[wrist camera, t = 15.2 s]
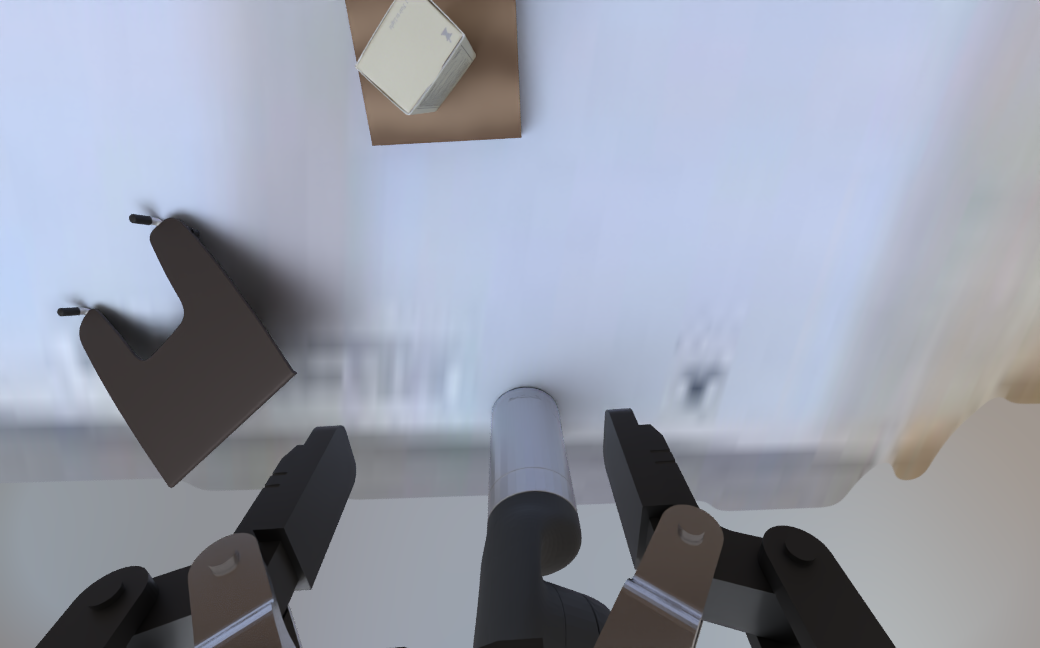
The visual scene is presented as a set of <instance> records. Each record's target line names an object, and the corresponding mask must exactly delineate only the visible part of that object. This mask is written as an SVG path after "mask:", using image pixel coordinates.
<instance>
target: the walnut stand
mask: <svg viewBox="0 0 1040 648" xmlns="http://www.w3.org/2000/svg"><path fill="white" fill-rule="evenodd" d="M393 1H394V0H345V3H346V8H347V13H348V18H349V24H350V29H351V34H352V40H353V45H354V50H355V55H356V61H358V59H359V58H360V56H361V54H362V53H363V51H364V49H365V47H366V46H367V44H368V42H369V40H370V39H371V37H372V35H373V34H374V32H375V30H376V29H377V27H378V25H379V24H380V22H381V20H382V19H383V17H384V16H385V14H386V12H387V11H388V9H389V8H390V6H391V4H392V3H393ZM432 1H433V2H434V3H435V4H436V5H437V6H438V7H439V8H440V9H441V10H442V11H443V12H444V13H445V14H446V15H447V16H448V17H449V18H450V19H451V20H452V21H453V22H454V23H455V24H456V25H457V27H458V28H459V29H460V30H461V31H462V32H463V33H464V34H465V36H466V38H467V39H468V41H469V43H470V45H471V47H472V49H473V50H474V52H475V54H476V57H475V59H474V60H473V62H472V63H471V65H470V66H469V67H468V69H467V70H466V72H465V73H464V75H463V76H462V77H461V79H460V80H459V81H458V83H457V84H456V86H455V87H454V88H453V90H452V91H451V92H450V94H449V95H448V96H447V98H446V99H445V100H444V102H443V103H442V104H441V105H440V107H439V108H438V109H437V111H435V112H429V113H421V114H414V115H406V114H405V113H404V112H403V111H401V110H400V109H399V108H398V107H397V106H396V105H395V104H394V103H392V102H391V101H390V100H389V99H388V98H387V97H386V96H385V95H384V94H383V93H382V92H380V91H379V90H378V89H377V88H376V87H375V86H374V85H373V84H372V83H371V82H370V81H369V80H368V79H367V78H366V77H365V76H364V75H362V74H361V73H360V72H359V77H360V82H361V87H362V93H363V98H364V103H365V108H366V114H367V119H368V124H369V130H370V135H371V140H372V146H376V145H394V144H413V143H431V142H450V141H468V140H487V139H505V138H521V117H520V94H519V70H518V47H517V23H516V0H432Z"/></svg>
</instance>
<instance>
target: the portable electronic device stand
mask: <svg viewBox="0 0 1040 648" xmlns="http://www.w3.org/2000/svg"><path fill="white" fill-rule="evenodd" d="M129 220H130V222H131V223H136V224H145V225H155V226H157V227H156V228H155V229H154V230H153V231H152V232H151V234H150V242H151V245H152V247H153V249H154V251H155V253H156V255H157V257H158V259H159V262H160V264H161V266H162V268H163V270H164V272H165V274H166V276H167V277H168V279H169V281H170V283H171V285H172V286H173V288H174V290H175V292H176V293H177V295H178V297H179V299H180V301H181V302H182V305H183V309H184V318H183V320H182V322H181V324H180V325H179V326H178V328H177V329H176V330H175V331H174V332H173V334H172V335H171V336H170V337H169V338H168V339H167V340H166V341H165V342H164V344H163V345H162V346H161V347H160V348H159V349H158V350H157V351H156V352H155V353H154V354H153V355H152V356H151V357H150V358H149V359H147V360H142V359H141V358H139V357H138V356H137V355H136V354H135V353H134V351H133V350H132V349H131V347H130V346H129V345H128V343H127V342H126V341H125V340H124V338H123V337H122V336H121V335H120V333H119V332H118V331H117V330H116V329H115V328H114V327H113V325H112V324H111V323H110V322H109V321H108V320H107V319H106V318H105V316H104V315H103V314H102V313H101V312H100V311H99V310H98V309H88V308H78V307H75V308H59V309H58V311H57V313H58V315H59V316H73V315H85V317H84V319H83V321H82V323H81V326H80V330H79V335H80V340H81V343H82V345H83V347H84V349H85V351H86V353H87V355H88V357H89V359H90V361H91V363H92V365H93V366H94V368H95V370H96V372H97V374H98V376H99V377H100V379H101V381H102V383H103V384H104V386H105V388H106V390H107V391H108V393H109V395H110V396H111V398H112V400H113V401H114V403H115V405H116V406H117V408H118V410H119V411H120V413H121V414H122V416H123V418H124V419H125V421H126V422H127V424H128V426H129V427H130V429H131V430H132V432H133V434H134V435H135V437H136V438H137V440H138V441H139V443H140V444H141V446H142V448H143V449H144V451H145V452H146V454H147V455H148V457H149V458H150V460H151V461H152V463H153V464H154V465H155V467H156V468H157V470H158V471H159V473H160V474H161V476H162V477H163V479H164V480H165V482H166V483H167V485H168V486H169V487H171V488H172V487H174V486H175V485H176V484H177V483H178V482H180V481H181V480H182V479H183V478H184V477H185V476H186V475H187V474H188V473H189V472H190V471H191V470H193V469H194V468H195V467H196V466H197V465H198V464H199V463H200V462H201V461H202V460H203V459H204V458H206V457H207V456H208V455H209V454H210V453H211V452H212V451H213V450H214V449H215V448H216V447H218V446H219V445H220V444H221V443H222V442H223V441H224V440H225V439H226V438H227V437H228V436H229V435H231V434H232V433H233V432H234V431H235V430H236V429H237V428H238V427H239V426H240V425H241V424H242V423H244V422H245V421H246V420H247V419H248V418H249V417H250V416H251V415H252V414H253V413H254V412H255V411H257V410H258V409H259V408H260V407H261V406H262V405H263V404H264V403H265V402H266V401H267V400H268V399H270V398H271V397H272V396H273V395H274V394H275V393H276V392H277V391H278V390H279V389H280V388H282V387H283V386H284V385H285V384H286V383H287V382H288V381H289V380H290V379H291V378H292V377H293V376H295V375H296V374H297V372H295V371H293V369H292V368H291V366H290V365H289V363H288V362H287V360H286V359H285V357H284V356H283V354H282V353H281V351H280V350H279V348H278V347H277V345H276V344H275V342H274V341H273V339H272V338H271V336H270V335H269V333H268V332H267V330H266V329H265V327H264V326H263V324H262V323H261V321H260V320H259V318H258V317H257V316H256V314H255V313H254V311H253V310H252V308H251V307H250V306H249V304H248V303H247V302H246V300H245V299H244V297H243V296H242V295H241V293H240V292H239V290H238V289H237V288H236V286H235V285H234V284H233V282H232V281H231V279H230V278H229V277H228V275H227V274H226V273H225V272H224V270H223V269H222V268H221V266H220V265H219V264H218V263H217V261H216V260H215V259H214V258H213V256H212V255H211V254H210V253H209V251H208V250H207V249H206V248H205V246H204V245H203V244H202V243H201V242H200V240H199V230H194V229H192V228H191V227H187V226H186V225H185V224H184V223H183V222H182V221H181V220H179V219H175V218H168V219H166V220H164V221H162V220H160V219H158V218H155V217H150V216H143V215H136V214H131V215H130V216H129Z"/></svg>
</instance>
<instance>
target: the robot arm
mask: <svg viewBox="0 0 1040 648" xmlns="http://www.w3.org/2000/svg"><path fill="white" fill-rule="evenodd" d="M603 455H604V463H605V468H606V472H607V475H608V478H609V482H610V485H611V489H612V492H613V496H614V499H615V502H616V506H617V509H618V512H619V516H620V520H621V523H622V526H623V530H624V533H625V537H626V540H627V544H628V547H629V551H630V554H631V557H632V561H633V564H634V568H635V569H636V573H635V575H634V576H633V578H632V579H630V578H629V579H627V581H626V582H625V583H624V585H623V587H622V589H621V591H620V593H619V595H618V597H617V600H616V602H615V604H614V606H613V608H612V610H611V611H610V610H609V609H608V608H607V607H606V606H605V605H604V604H602V603H600V602H599V601H597V600H595V599H594V598H592V597H589V596H587V595H584V594H581V593H578V592H576V591H573V590H570V589H567V588H564V587H561V586H558V585H555V584H552V583H550V582H546V581H544V580H543V578H542V576H545V575H549V574H552V573H554V572H556V571H559V570H561V569H562V568H564V567H565V566H567V565H568V564H569V563H570V562H571V561H572V560H573V559H574V558H575V557H576V555H577V554H578V551H579V549H580V546H581V529H580V523H579V518H578V513H577V508H576V502H575V497H574V492H573V487H572V482H571V476H570V471H569V466H568V460H567V455H566V449H565V444H564V439H563V433H562V427H561V422H560V417H559V411H558V407H557V404H556V403H555V401H554V400H553V398H552V397H551V396H550V395H548V394H547V393H545V392H543V391H541V390H539V389H534V388H518V389H514V390H511V391H509V392H507V393H505V394H503V395H502V396H501V397H500V398H499V399H498V400H497V401H496V403H495V404H494V407H493V409H492V418H491V441H490V469H489V498H488V499H489V500H488V523H487V524H488V525H487V537H486V542H485V547H484V552H483V557H482V563H481V574H480V587H479V597H478V607H477V617H476V626H475V635H474V645H473V648H695V647H696V644H697V641H698V637H699V634H700V630H701V627H702V623H703V620H704V621H708V622H711V623H714V624H718V625H721V626H725V627H728V628H732V629H735V630H739V631H742V632H746V635H747V637H748V640H749V642H750V645H751V647H752V648H895V646H894V644H893V643H892V641H891V640H890V638H889V637H888V635H887V634H886V633H885V631H884V629H883V628H882V627H881V625H880V624H879V622H878V621H877V619H876V618H875V616H874V615H873V613H872V612H871V610H870V609H869V608H868V606H867V605H866V603H865V602H864V600H863V599H862V597H861V596H860V594H859V593H858V591H857V590H856V589H855V587H854V586H853V584H852V583H851V581H850V580H849V579H848V577H847V575H846V574H845V572H844V571H843V570H842V568H841V567H840V565H839V564H838V562H837V561H836V559H835V558H834V556H833V555H832V553H831V552H830V551H829V550H828V548H827V547H826V546H825V545H824V544H823V543H822V542H821V541H819V540H818V539H817V538H815V537H814V536H812V535H811V534H809V533H807V532H805V531H803V530H801V529H798V528H795V527H790V526H776V527H772V528H770V529H769V530H767V531H766V533H765V534H764V537H763V538H761V537H756V536H752V535H747V534H742V533H738V532H734V531H731V530H728V529H725V528H723V527H721V526H720V525H719V524H718V522H717V521H716V520H715V519H714V518H713V517H712V516H711V515H710V514H708V513H707V512H705V511H704V510H702V509H700V508H699V507H698V505H697V503H696V501H695V499H694V497H693V495H692V493H691V491H690V489H689V487H688V485H687V483H686V481H685V479H684V477H683V475H682V473H681V471H680V469H679V467H678V465H677V463H675V459H674V457H673V455H672V453H671V452H670V449H669V447H668V445H667V443H666V441H665V439H664V437H663V435H661V434H660V433H659V432H658V431H657V430H656V429H655V428H654V427H653V426H651V425H650V424H647V425H638V423H637V420H636V418H635V416H634V413H633V411H632V410H631V409H630V408H629V409H613V410H606V412H605V424H604V443H603ZM355 478H356V463H355V460H354V456H353V453H352V450H351V446H350V443H349V440H348V436H347V433H346V430H345V428H344V427H343V426H341V425H340V426H324V427H316V428H314V430H313V431H312V433H311V434H310V436H309V437H308V439H307V441H306V442H305V444H304V445H297V446H296V447H295V448H294V449H292V450H291V451H290V452H289V453H288V454H287V455H286V456H284V457H283V458H282V459H281V461H280V463H279V464H278V466H277V467H276V469H275V470H274V472H273V476H270V478H269V480H268V481H267V483H266V484H265V488H263V489H262V490H261V492H260V494H259V495H258V497H257V498H256V500H255V501H254V503H253V504H252V506H251V507H250V509H249V511H248V512H247V514H246V515H245V517H244V518H243V520H242V522H241V523H240V525H239V526H238V528H237V529H236V531H235V532H234V534H232V535H229V536H226V537H224V538H221V539H219V540H218V541H216V542H214V543H213V544H211V545H210V546H208V547H207V548H206V549H205V550H204V551H203V552H202V553H201V554H200V555H199V556H198V557H197V558H196V559H195V560H194V562H193V564H192V565H190V566H188V567H185V568H182V569H178V570H175V571H172V572H170V573H167V574H163V575H160V576H157V577H154V578H152V577H151V576H150V574H149V573H148V572H147V570H146V569H145V568H142V567H140V566H130V567H125V568H122V569H119V570H116V571H114V572H112V573H110V574H108V575H106V576H104V577H102V578H101V579H99V580H97V581H96V582H95V583H93V584H92V585H90V586H89V587H88V588H87V589H85V590H84V591H83V592H82V593H81V594H80V595H79V596H78V597H77V598H76V599H75V600H74V602H73V603H72V604H71V605H70V606H69V608H68V609H67V610H66V611H65V612H64V614H63V615H62V616H61V617H60V618H59V620H58V621H57V622H56V623H55V625H54V626H53V627H52V628H51V629H50V631H49V632H48V633H47V634H46V636H45V637H44V638H43V639H42V640H41V641H40V643H39V644H38V645H37V646H36V647H35V648H302V644H301V641H300V638H299V634H298V631H297V628H296V625H295V621H294V618H293V615H292V612H291V609H290V607H289V605H288V603H289V601H290V599H291V597H292V594H293V592H294V591H298V590H311V588H312V586H313V584H314V581H315V579H316V576H317V574H318V571H319V569H320V567H321V564H322V562H323V559H324V556H325V554H326V552H327V549H328V547H329V544H330V542H331V539H332V537H333V534H334V532H335V529H336V527H337V525H338V522H339V520H340V517H341V515H342V512H343V510H344V507H345V505H346V502H347V500H348V497H349V495H350V492H351V490H352V488H353V485H354V482H355ZM397 648H406V647H397Z"/></svg>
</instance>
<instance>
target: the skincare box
mask: <svg viewBox="0 0 1040 648" xmlns="http://www.w3.org/2000/svg"><path fill="white" fill-rule="evenodd" d="M475 57H476V54H475V52H474V50H473V49H472V47H471V45H470V43H469V41H468V39H467V38H466V36H465V34H464V33H463V32H462V31H461V30H460V29H459V28H458V27H457V25H456V24H455V23H454V22H453V21H452V20H451V19H450V18H449V17H448V16H447V15H446V14H445V13H444V12H443V11H442V10H441V9H440V8H439V7H438V6H437V5H436V4H435V3H434V2H433V1H432V0H394V1H393V3H392V4H391V6H390V8H389V9H388V11H387V12H386V14H385V16H384V17H383V19H382V20H381V22H380V24H379V25H378V27H377V29H376V30H375V32H374V34H373V35H372V37H371V39H370V40H369V42H368V44H367V46H366V47H365V49H364V51H363V53H362V54H361V56H360V58H359V59H358V61H357V63H356V65H355V67H356V69H357V70H358V71H359V72H360V73H361V74H362V75H364V76H365V77H366V78H367V79H368V80H369V81H370V82H371V83H372V84H373V85H374V86H375V87H376V88H377V89H378V90H379V91H380V92H382V93H383V94H384V95H385V96H386V97H387V98H388V99H389V100H390V101H391V102H392V103H394V104H395V105H396V106H397V107H398V108H399V109H400V110H401V111H403V112H404V113H405V114H406V115H414V114H421V113H429V112H435V111H437V109H438V108H439V107H440V105H441V104H442V103H443V102H444V100H445V99H446V98H447V96H448V95H449V94H450V92H451V91H452V90H453V88H454V87H455V86H456V84H457V83H458V81H459V80H460V79H461V77H462V76H463V75H464V73H465V72H466V70H467V69H468V67H469V66H470V65H471V63H472V62H473V60H474V59H475Z"/></svg>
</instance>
